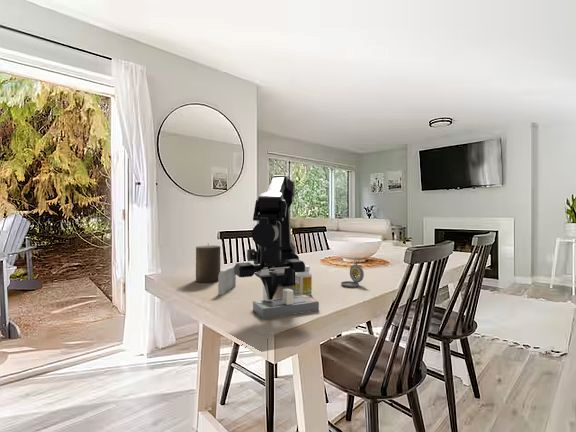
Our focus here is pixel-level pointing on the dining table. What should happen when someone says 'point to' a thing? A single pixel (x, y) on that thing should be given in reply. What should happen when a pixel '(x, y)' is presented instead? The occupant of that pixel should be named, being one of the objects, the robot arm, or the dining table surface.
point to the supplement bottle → (304, 282)
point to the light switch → (226, 280)
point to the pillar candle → (207, 263)
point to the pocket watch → (354, 272)
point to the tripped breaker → (287, 296)
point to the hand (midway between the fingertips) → (270, 299)
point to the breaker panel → (285, 306)
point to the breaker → (265, 295)
